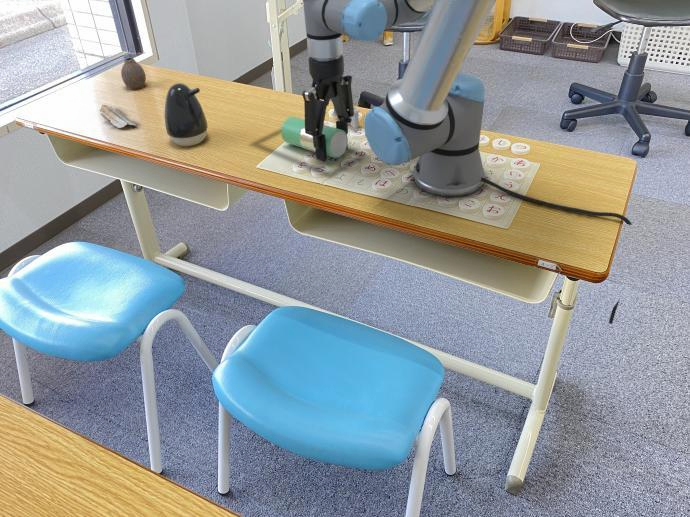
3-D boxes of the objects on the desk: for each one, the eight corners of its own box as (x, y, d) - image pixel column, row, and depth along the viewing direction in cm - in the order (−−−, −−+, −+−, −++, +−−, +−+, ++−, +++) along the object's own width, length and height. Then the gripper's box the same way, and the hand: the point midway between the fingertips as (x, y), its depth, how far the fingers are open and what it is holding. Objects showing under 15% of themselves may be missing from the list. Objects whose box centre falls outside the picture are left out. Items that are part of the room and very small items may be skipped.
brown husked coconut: (121, 91, 180) (113, 62, 174) (131, 82, 185) (123, 54, 180) (142, 91, 179) (134, 63, 173) (151, 83, 184) (144, 55, 179)
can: (349, 151, 139) (346, 125, 135) (330, 162, 135) (327, 135, 132) (302, 138, 148) (298, 112, 145) (283, 147, 145) (279, 121, 141)
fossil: (94, 112, 167) (103, 100, 167) (103, 119, 169) (113, 107, 170) (119, 132, 155) (129, 119, 156) (129, 139, 158) (139, 127, 158)
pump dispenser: (201, 152, 145) (189, 93, 136) (163, 150, 147) (148, 91, 138) (217, 134, 153) (206, 77, 144) (180, 132, 155) (167, 75, 146)
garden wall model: (333, 114, 160) (332, 93, 156) (338, 113, 161) (337, 92, 157) (354, 130, 152) (353, 109, 148) (360, 129, 152) (360, 107, 149)
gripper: (343, 40, 132) (347, 134, 146) (280, 65, 121) (291, 165, 135) (368, 46, 128) (370, 142, 142) (306, 72, 117) (314, 174, 131)
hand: (332, 153), depth 139 cm, fingers closed on can, 7 cm apart
